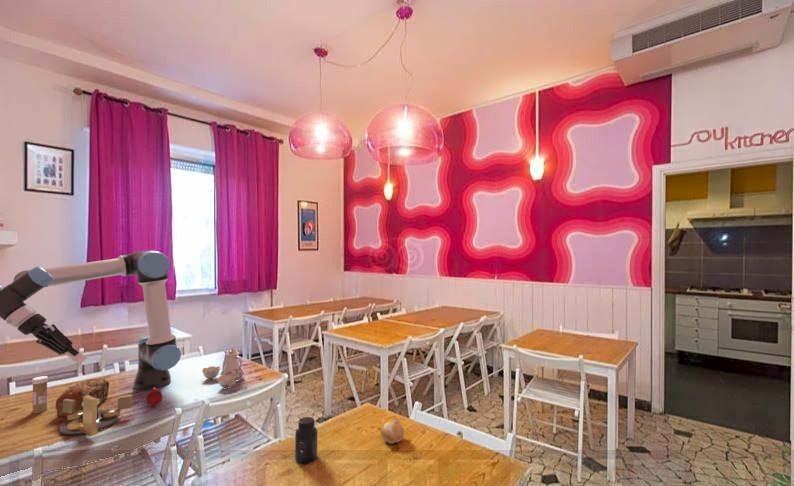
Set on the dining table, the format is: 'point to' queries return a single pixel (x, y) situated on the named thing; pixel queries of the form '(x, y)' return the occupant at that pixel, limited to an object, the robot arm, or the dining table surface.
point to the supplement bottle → (306, 441)
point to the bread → (83, 394)
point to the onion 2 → (392, 432)
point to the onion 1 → (154, 397)
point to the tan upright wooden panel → (86, 417)
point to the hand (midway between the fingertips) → (83, 361)
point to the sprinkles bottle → (39, 394)
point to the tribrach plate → (99, 426)
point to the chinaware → (226, 370)
